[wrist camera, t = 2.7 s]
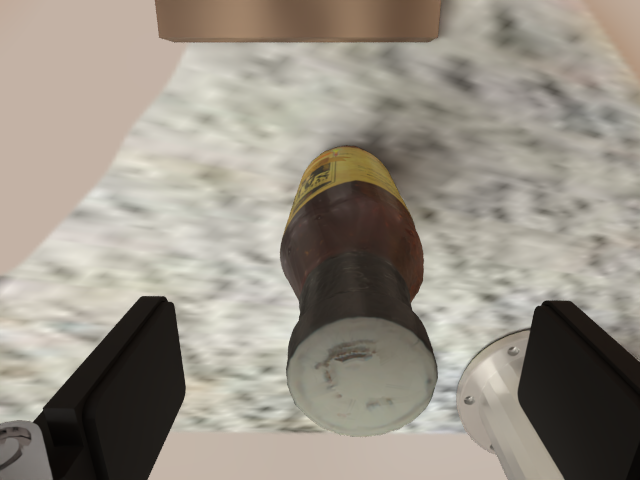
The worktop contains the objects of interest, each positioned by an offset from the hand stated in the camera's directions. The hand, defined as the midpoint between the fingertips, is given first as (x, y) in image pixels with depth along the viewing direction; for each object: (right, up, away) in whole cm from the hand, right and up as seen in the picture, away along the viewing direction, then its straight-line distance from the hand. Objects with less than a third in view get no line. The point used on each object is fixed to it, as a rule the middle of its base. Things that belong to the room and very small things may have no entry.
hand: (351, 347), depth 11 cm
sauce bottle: (+1, +6, +19) cm, 20 cm away
